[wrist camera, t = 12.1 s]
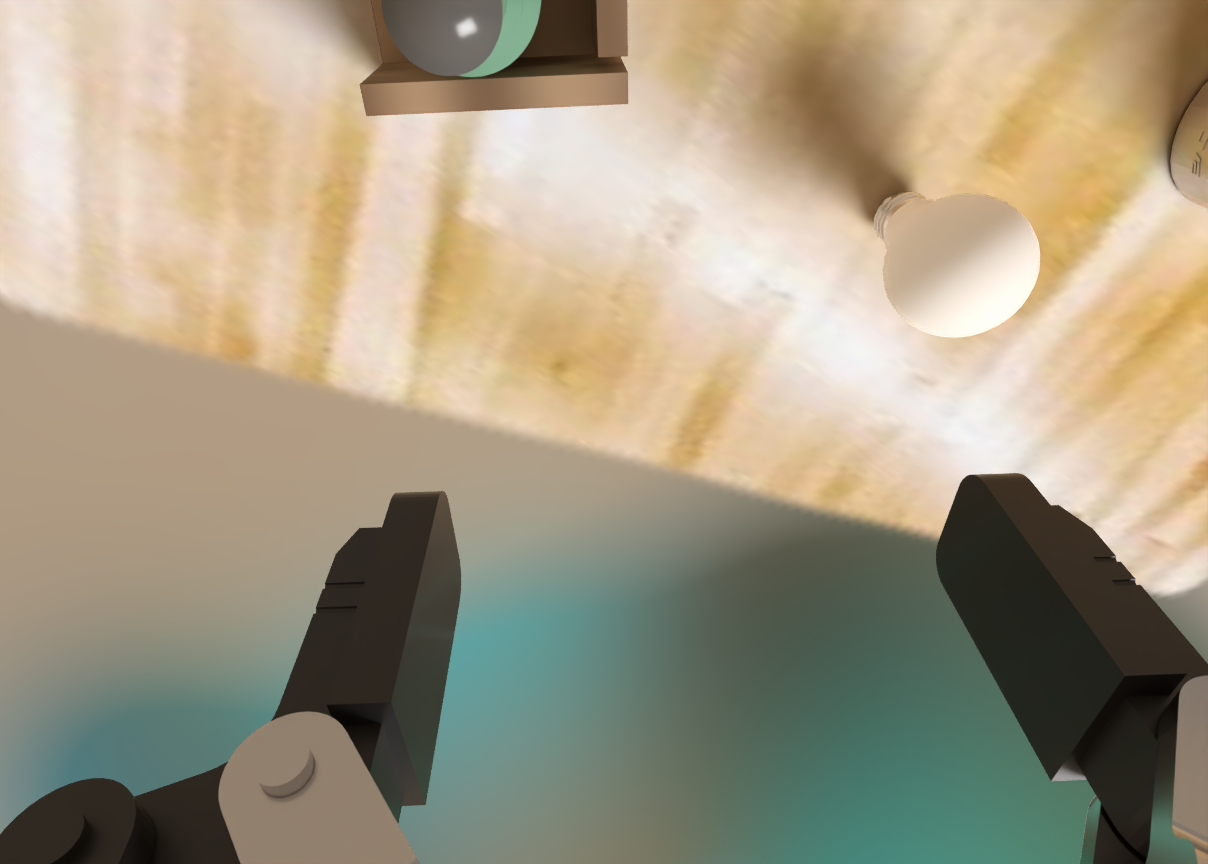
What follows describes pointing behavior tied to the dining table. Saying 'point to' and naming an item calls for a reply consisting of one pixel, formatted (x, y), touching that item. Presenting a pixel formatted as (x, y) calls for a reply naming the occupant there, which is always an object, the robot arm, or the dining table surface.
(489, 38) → the bottle
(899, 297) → the light bulb
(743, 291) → the dining table surface
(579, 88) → the brown open-sided frame
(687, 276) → the dining table surface
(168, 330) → the dining table surface
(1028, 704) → the robot arm
